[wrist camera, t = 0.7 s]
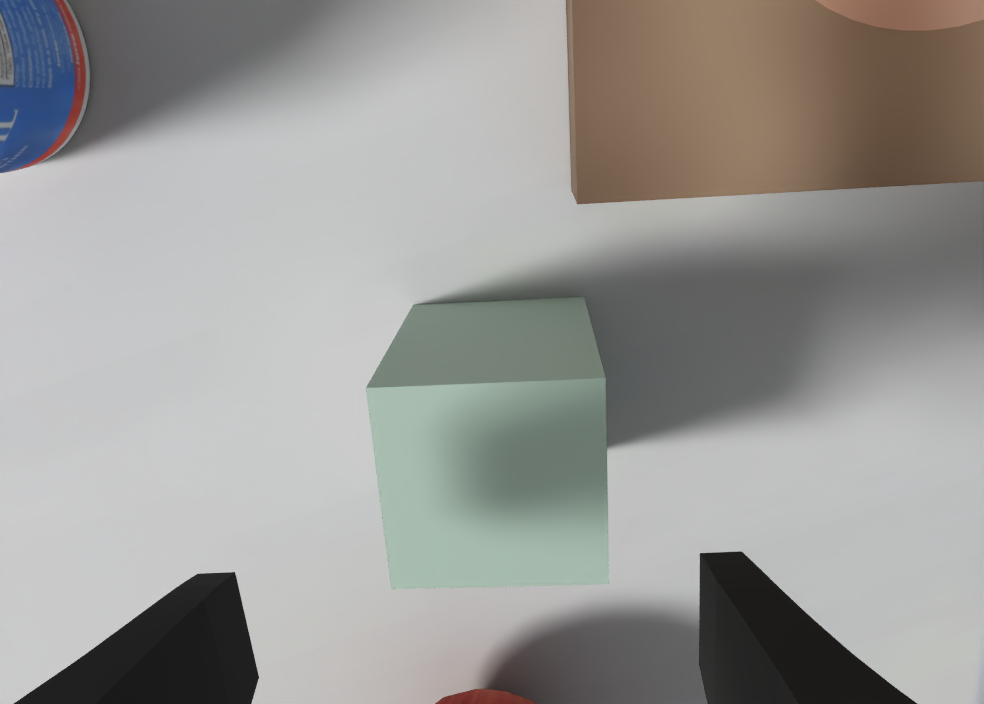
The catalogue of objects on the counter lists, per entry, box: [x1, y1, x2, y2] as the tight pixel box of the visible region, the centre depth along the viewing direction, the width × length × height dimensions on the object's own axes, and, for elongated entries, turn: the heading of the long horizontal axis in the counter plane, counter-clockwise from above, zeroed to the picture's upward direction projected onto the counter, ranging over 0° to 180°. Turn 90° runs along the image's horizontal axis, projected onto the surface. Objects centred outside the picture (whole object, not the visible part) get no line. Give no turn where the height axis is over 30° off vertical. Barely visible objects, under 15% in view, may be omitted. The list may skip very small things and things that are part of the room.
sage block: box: [366, 297, 609, 589], centre depth 18 cm, size 4×4×6 cm
